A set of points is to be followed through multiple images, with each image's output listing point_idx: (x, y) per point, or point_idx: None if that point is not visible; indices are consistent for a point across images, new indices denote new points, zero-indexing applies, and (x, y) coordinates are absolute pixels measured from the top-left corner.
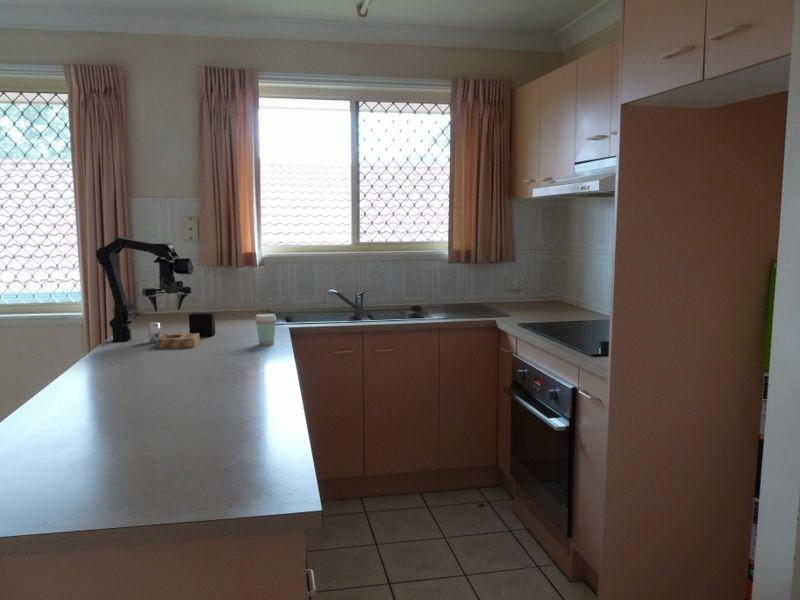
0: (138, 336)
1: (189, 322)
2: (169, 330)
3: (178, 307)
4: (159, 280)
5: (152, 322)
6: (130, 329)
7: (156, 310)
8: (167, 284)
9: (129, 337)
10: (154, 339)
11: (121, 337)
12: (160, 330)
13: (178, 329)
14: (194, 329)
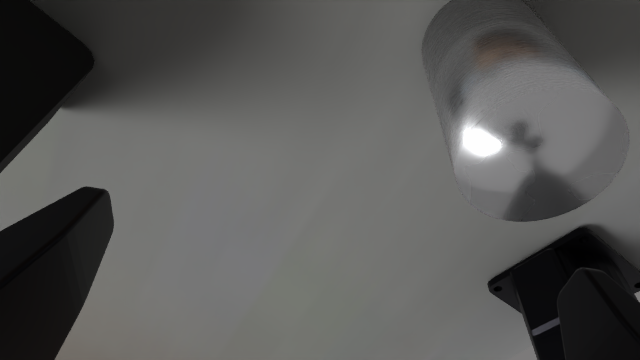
0: (407, 308)
1: (19, 132)
2: (171, 330)
3: (70, 230)
4: None
5: (509, 220)
6: (549, 319)
7: (611, 292)
8: None
9: (557, 256)
10: (532, 13)
11: (614, 273)
12: (455, 71)
13: (112, 323)
14: (12, 49)
